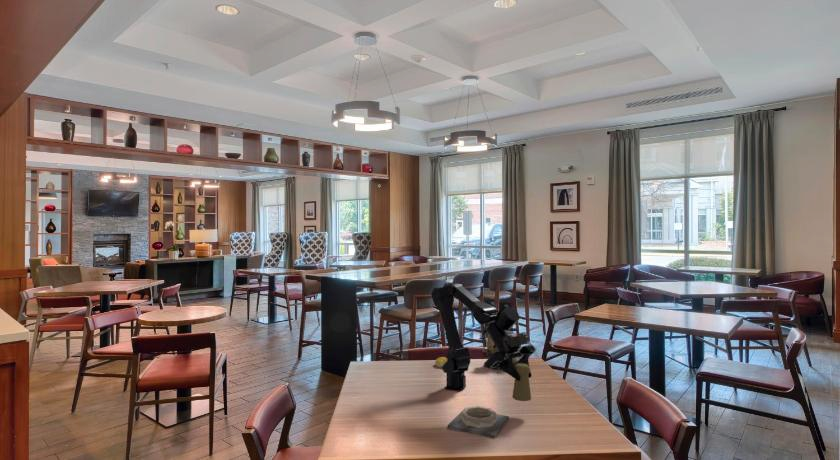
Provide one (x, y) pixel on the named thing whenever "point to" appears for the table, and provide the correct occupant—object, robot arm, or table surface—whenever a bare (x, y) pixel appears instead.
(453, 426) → the socket
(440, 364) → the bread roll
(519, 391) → the cork
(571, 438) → the table surface
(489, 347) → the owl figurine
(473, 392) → the table surface
